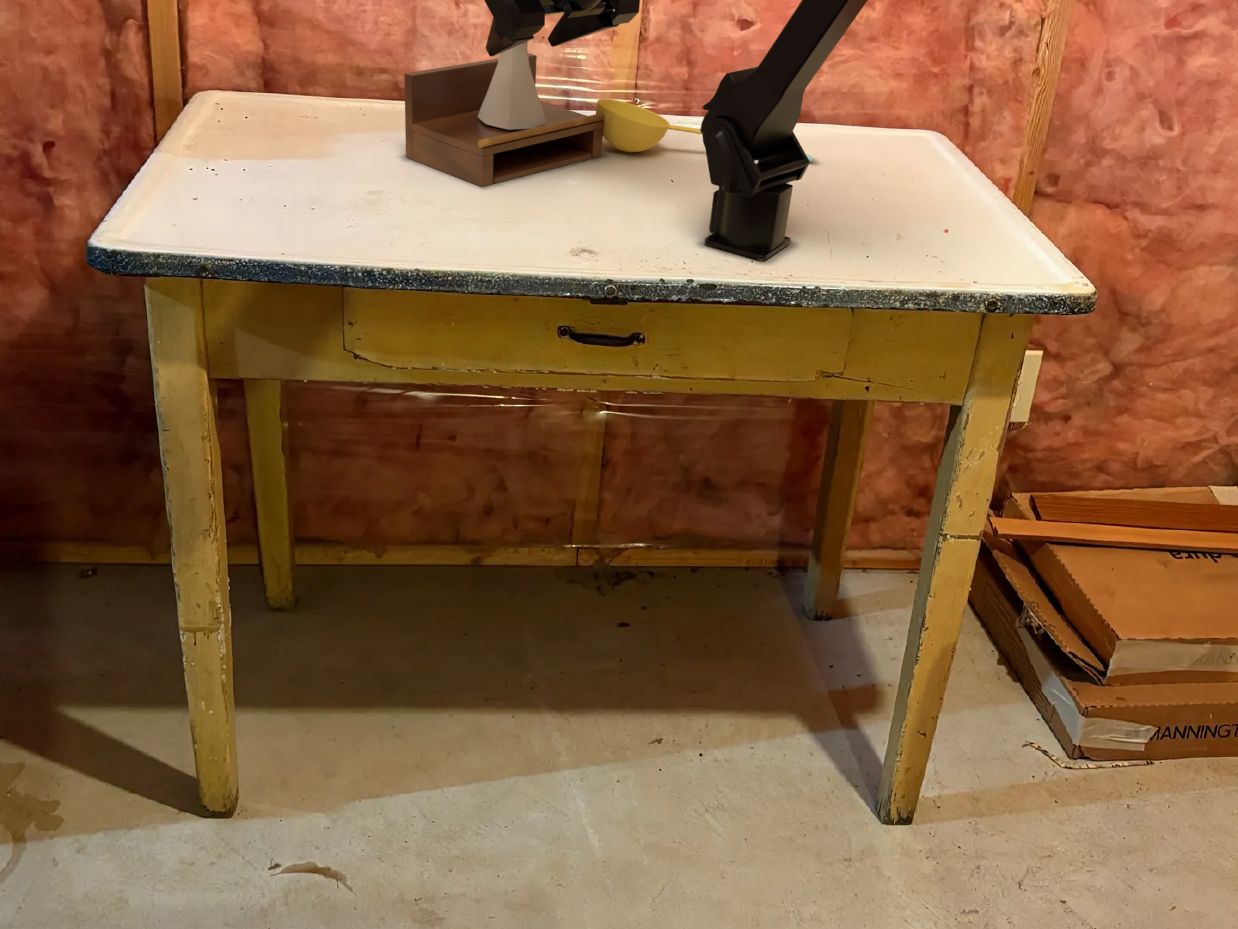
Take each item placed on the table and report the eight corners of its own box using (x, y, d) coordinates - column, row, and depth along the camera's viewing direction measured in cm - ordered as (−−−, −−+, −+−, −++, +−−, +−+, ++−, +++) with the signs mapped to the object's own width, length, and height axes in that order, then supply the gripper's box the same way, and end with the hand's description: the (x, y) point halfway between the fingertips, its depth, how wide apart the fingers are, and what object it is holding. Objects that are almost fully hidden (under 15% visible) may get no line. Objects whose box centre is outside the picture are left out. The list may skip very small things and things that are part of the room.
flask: (506, 135, 122) (509, 37, 117) (465, 118, 126) (466, 23, 121) (558, 126, 126) (562, 31, 121) (516, 110, 131) (519, 18, 125)
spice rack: (601, 155, 132) (607, 75, 127) (481, 186, 119) (483, 99, 115) (526, 130, 138) (529, 52, 134) (405, 157, 126) (403, 73, 121)
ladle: (585, 129, 137) (598, 82, 135) (788, 190, 142) (806, 146, 140) (587, 148, 130) (602, 98, 127) (802, 212, 135) (821, 165, 132)
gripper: (627, -124, 116) (545, -25, 128) (493, -122, 104) (416, -13, 115) (680, -28, 116) (593, 62, 128) (552, -15, 104) (469, 84, 115)
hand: (520, 47), depth 122 cm, fingers open, 9 cm apart
